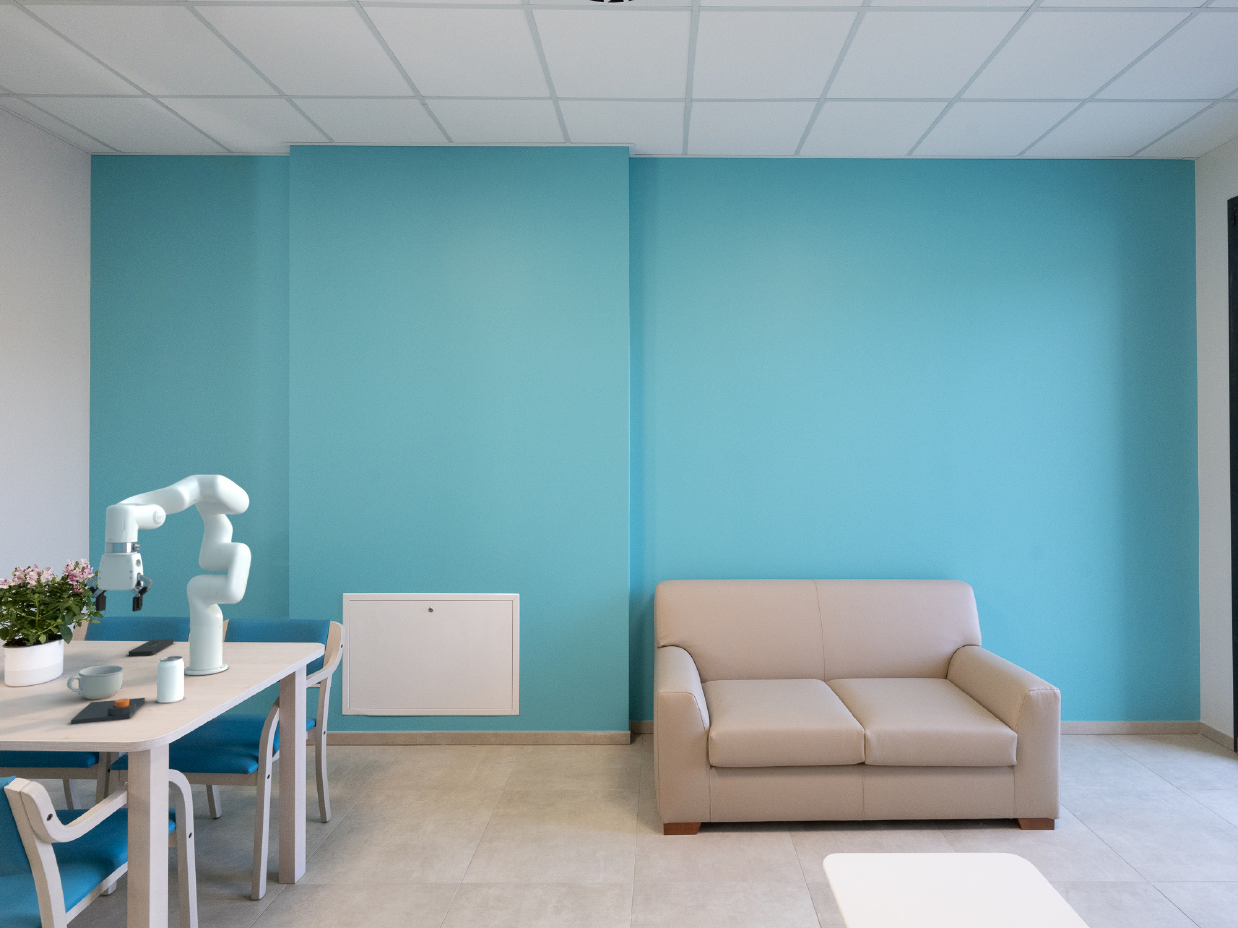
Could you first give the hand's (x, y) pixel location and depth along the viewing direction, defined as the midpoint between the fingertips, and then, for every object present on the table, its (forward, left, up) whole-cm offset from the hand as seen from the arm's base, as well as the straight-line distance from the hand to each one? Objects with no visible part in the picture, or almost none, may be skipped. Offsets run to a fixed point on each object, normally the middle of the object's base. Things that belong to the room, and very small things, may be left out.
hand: (118, 610), depth 206 cm
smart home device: (-76, -8, -27) cm, 81 cm away
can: (-3, +12, -27) cm, 30 cm away
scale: (+4, -1, -27) cm, 27 cm away
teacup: (-13, -9, -27) cm, 31 cm away
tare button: (+9, +3, -24) cm, 26 cm away
